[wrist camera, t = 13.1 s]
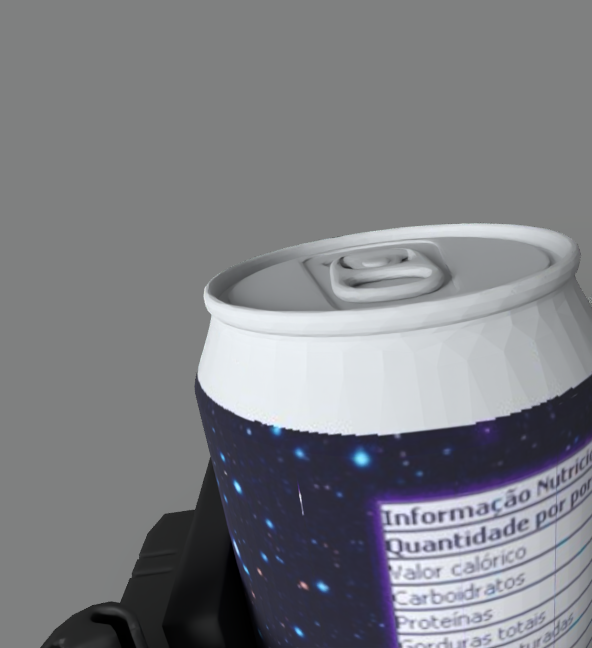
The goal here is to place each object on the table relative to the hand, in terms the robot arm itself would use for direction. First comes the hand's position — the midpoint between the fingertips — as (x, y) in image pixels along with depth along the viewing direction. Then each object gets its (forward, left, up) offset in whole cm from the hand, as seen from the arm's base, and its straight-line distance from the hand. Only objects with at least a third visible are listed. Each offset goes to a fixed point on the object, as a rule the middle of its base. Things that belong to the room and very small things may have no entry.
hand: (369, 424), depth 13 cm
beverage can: (0, -5, -7) cm, 8 cm away
